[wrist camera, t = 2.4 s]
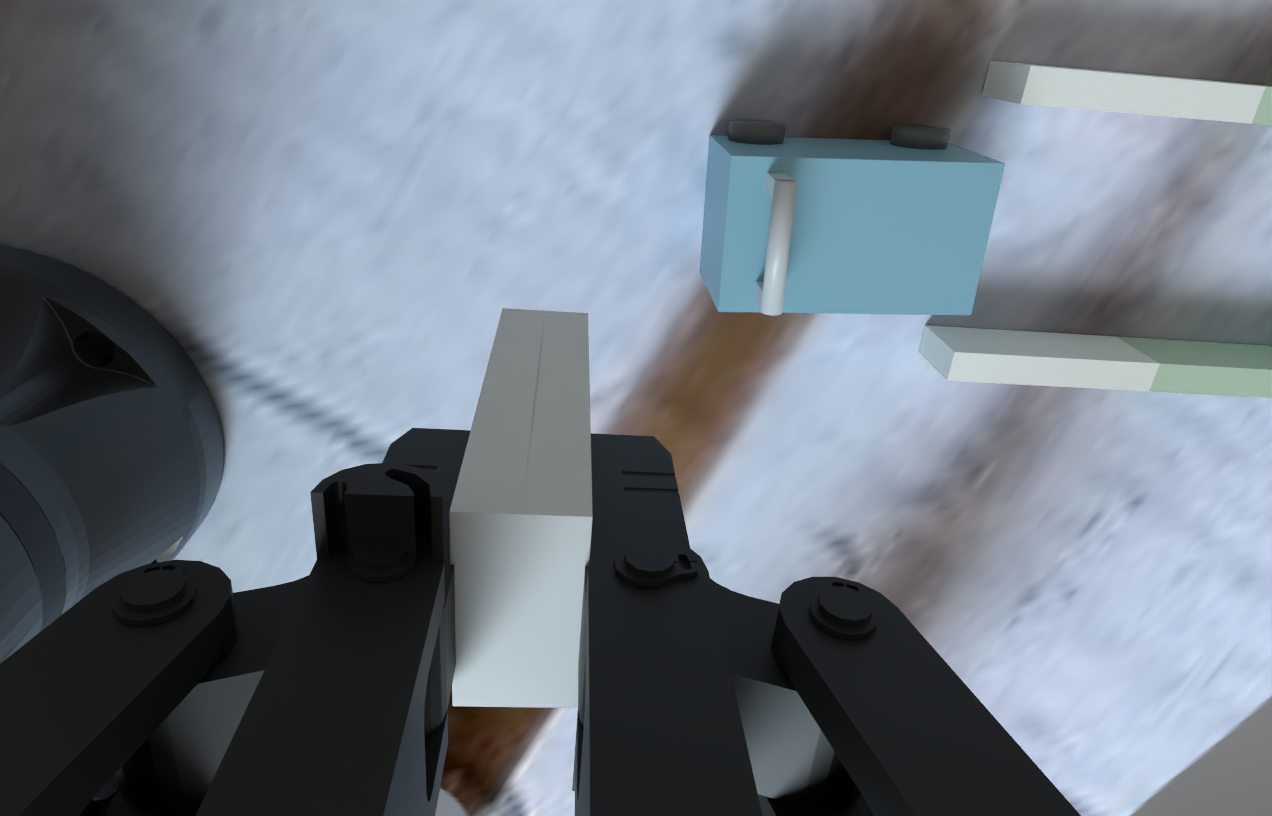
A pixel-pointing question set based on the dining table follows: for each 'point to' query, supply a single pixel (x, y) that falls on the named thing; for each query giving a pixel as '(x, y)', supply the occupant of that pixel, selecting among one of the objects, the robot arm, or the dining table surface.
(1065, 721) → the dining table surface
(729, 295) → the blue handled block
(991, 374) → the frame
